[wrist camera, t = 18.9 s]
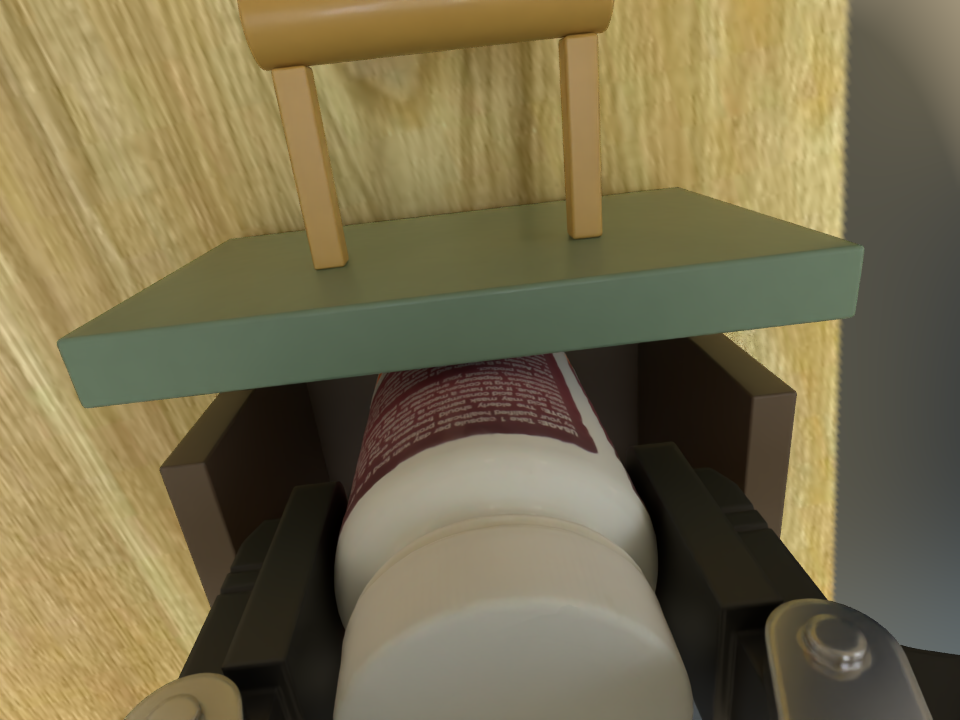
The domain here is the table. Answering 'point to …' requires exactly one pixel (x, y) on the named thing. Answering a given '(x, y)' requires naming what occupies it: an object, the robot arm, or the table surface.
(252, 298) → the drawer
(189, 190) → the table surface
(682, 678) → the pill bottle
